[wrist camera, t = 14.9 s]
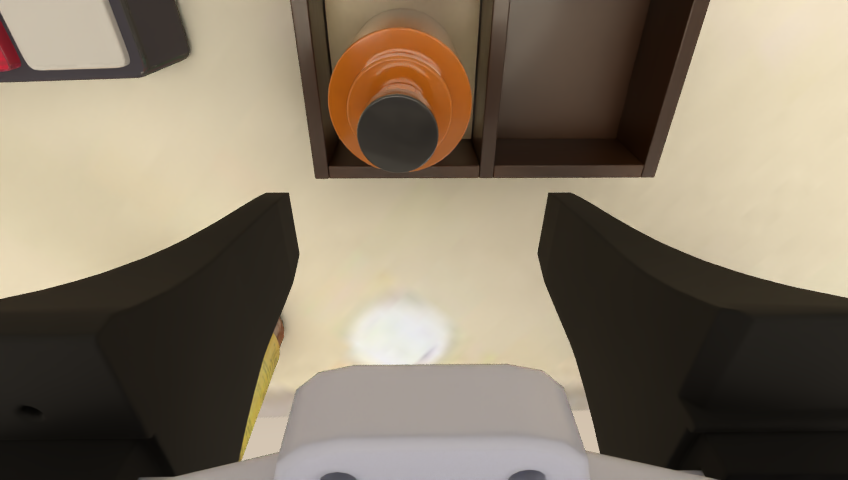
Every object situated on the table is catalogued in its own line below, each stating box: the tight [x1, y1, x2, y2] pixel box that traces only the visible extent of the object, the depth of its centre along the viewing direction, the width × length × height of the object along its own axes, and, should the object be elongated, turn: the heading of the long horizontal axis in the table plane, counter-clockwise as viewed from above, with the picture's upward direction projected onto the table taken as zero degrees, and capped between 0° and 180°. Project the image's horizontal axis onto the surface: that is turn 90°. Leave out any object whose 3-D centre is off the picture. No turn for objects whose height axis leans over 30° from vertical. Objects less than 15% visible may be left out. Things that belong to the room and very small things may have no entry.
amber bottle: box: [328, 8, 472, 173], centre depth 16 cm, size 5×5×8 cm
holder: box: [290, 0, 710, 179], centre depth 18 cm, size 15×8×4 cm, turn 90°
